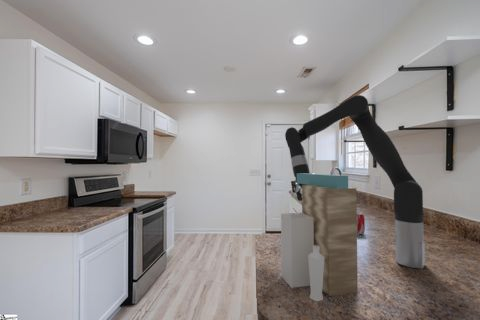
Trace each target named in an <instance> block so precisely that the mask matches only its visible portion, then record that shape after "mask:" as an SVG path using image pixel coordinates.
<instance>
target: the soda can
mask: <svg viewBox="0 0 480 320" xmlns="http://www.w3.org/2000/svg"><path fill="white" fill-rule="evenodd" d="M365 222H366V220H365V214H364V212H360V211H357V234H362V235H364V234H365V232H366V231H365V226H366V225H365V224H366V223H365Z"/></svg>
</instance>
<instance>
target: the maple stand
mask: <svg viewBox="0 0 480 320" xmlns="http://www.w3.org/2000/svg"><path fill="white" fill-rule="evenodd" d="M301 195H302V201H301V211H302V212H301V213H304V214H306V215H309V216H311V217H314V245H318V246H319V247H320V248H319V253H320V254H321V255H323V256H324V272H323V286H322V292H324V293H325V294H327V295H328V297H333V296H339V295H345V294H351V293H352V294H353V293H358V291H359V290H358V289H359V287H358V235H357V212H358V210H357V209H358V208H357V207H358V206H357V205H358V204H357V187H350V186H348V189H335V188H328V187H321V186H314V185H302V189H301Z"/></svg>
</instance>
